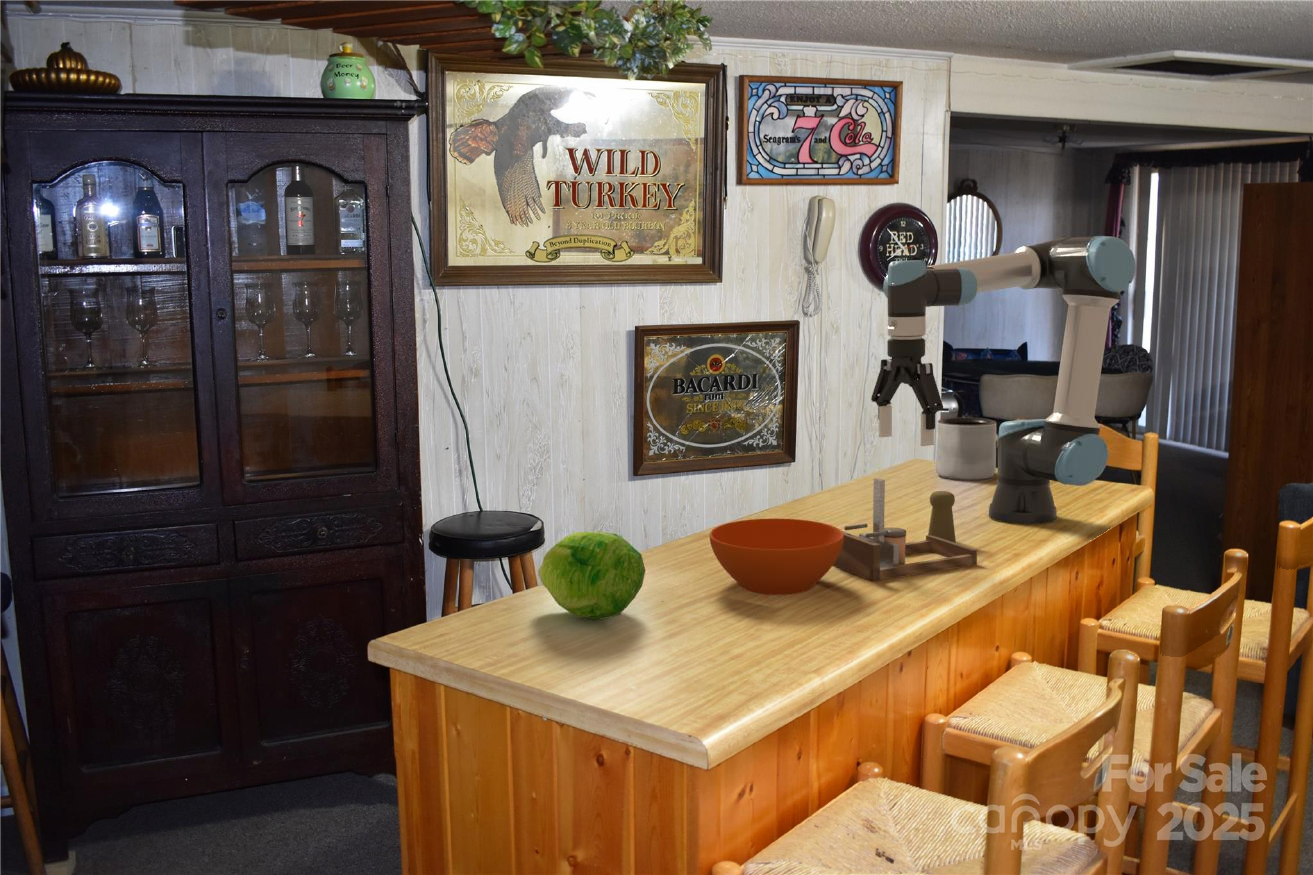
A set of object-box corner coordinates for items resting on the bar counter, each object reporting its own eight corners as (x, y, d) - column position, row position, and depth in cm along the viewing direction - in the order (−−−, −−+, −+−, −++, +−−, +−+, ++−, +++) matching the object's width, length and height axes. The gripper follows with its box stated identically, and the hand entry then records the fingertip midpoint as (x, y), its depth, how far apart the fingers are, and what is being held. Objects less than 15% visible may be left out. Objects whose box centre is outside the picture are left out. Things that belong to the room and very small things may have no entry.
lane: (930, 548, 241) (931, 509, 240) (976, 564, 228) (977, 523, 227) (830, 564, 230) (830, 523, 229) (873, 581, 218) (873, 538, 216)
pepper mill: (956, 545, 243) (957, 494, 242) (927, 544, 245) (928, 494, 243) (955, 538, 249) (956, 489, 248) (926, 537, 250) (927, 488, 249)
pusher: (863, 559, 232) (864, 474, 229) (898, 572, 222) (899, 483, 219) (858, 560, 232) (859, 474, 229) (893, 573, 221) (894, 484, 219)
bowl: (755, 612, 200) (755, 556, 199) (686, 578, 222) (685, 528, 221) (871, 591, 212) (871, 538, 210) (794, 561, 234) (794, 512, 232)
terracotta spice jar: (894, 561, 232) (895, 526, 230) (911, 567, 227) (911, 531, 226) (873, 564, 229) (874, 529, 228) (889, 570, 225) (890, 534, 224)
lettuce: (580, 607, 212) (579, 526, 212) (664, 616, 199) (662, 529, 199) (514, 619, 199) (512, 532, 199) (599, 630, 186) (597, 537, 186)
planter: (938, 481, 313) (939, 425, 311) (933, 470, 329) (934, 417, 327) (998, 482, 311) (1000, 425, 308) (991, 471, 326) (993, 417, 324)
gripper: (854, 335, 242) (854, 434, 245) (931, 341, 220) (930, 451, 223) (883, 333, 245) (883, 431, 248) (962, 339, 223) (961, 447, 226)
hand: (905, 441), depth 236 cm, fingers open, 13 cm apart
